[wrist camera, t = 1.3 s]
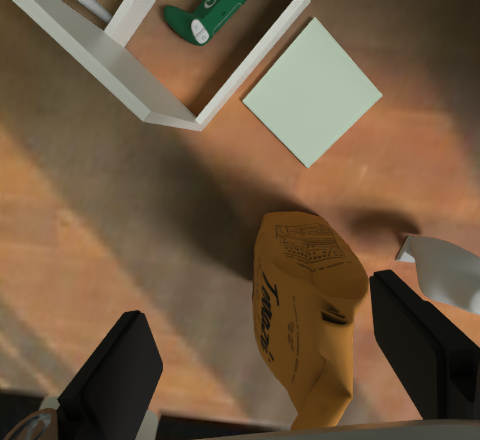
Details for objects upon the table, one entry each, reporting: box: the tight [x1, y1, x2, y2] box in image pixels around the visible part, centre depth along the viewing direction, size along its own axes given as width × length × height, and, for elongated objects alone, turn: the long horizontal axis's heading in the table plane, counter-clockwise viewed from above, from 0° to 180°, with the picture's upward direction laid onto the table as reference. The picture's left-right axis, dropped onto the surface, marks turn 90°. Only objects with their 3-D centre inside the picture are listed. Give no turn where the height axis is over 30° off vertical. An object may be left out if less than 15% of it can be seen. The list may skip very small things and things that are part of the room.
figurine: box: [396, 236, 480, 315], centre depth 29 cm, size 8×5×12 cm
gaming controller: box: [164, 0, 246, 46], centre depth 27 cm, size 9×4×6 cm
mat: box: [242, 17, 383, 168], centre depth 30 cm, size 11×11×1 cm
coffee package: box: [252, 211, 369, 430], centre depth 25 cm, size 10×12×22 cm
